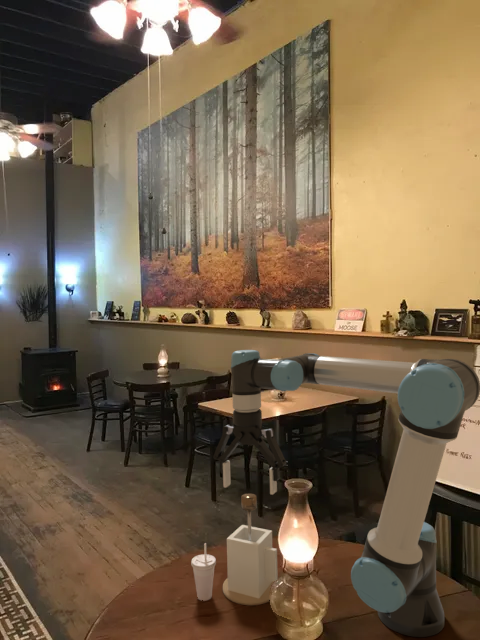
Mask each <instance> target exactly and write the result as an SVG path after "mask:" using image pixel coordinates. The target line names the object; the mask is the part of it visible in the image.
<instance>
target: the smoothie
mask: <svg viewBox="0 0 480 640" xmlns="http://www.w3.org/2000/svg"><path fill="white" fill-rule="evenodd" d="M203 546H204V547H203V548H204V550H203V553H204V554H198V555H195V556H194V557H193V558H192V559H191V560H190V561H191V567H192V569H193V570H192V571H193V578H194V583H195V590H196V596H197V597H198V598H197V600H199V601H202V600H203V601H202V602H205V601H209V600H211V599H212V596H213V587H214V586H213V585H214V575H215V566H216V565H217V561H216V557H215V556H214V555H211V554H207V553H208V552H207V543H206V542H205V543H204V544H203Z"/></svg>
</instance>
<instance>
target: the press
mask: <svg viewBox="0 0 480 640" xmlns="http://www.w3.org/2000/svg"><path fill="white" fill-rule="evenodd" d="M251 538H252V542H251V541H248V525H245V524H241V525H240V526H239V527H237V529H236V530H234V531H233V533H231V534H230V535H229V536H228V537H227V538H226V558H227V559H226V560H227V562H226V563H227V567H226V569H227V578H226V579H225V580H224V581H223V584H222V593H223V595H224V597H225V598H227V600H228V601H231V602H233V603H235V604H238V605H242V606H243V605H244V606H258V605H262V604H266V603H269V602H270V601H269V591H270V588H271V585H272V584H273V582H274V581H276V580H277V581H278V578H279V577H278V548H274V547H273V530H270V529H265V528H260V527H256V526H251Z"/></svg>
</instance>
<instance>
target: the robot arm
mask: <svg viewBox="0 0 480 640" xmlns="http://www.w3.org/2000/svg"><path fill="white" fill-rule="evenodd" d="M230 363H231V364H230V365H231V366H230V370H231V371H230V372H231V385H232V409H233V411H232V422H233V426H232V425H230V424H227V425H225V426H223V427H222V435H221V437H220V439H219V442H218V444H217V447H216V448H215V451H214V454H213V459H214V460H217V461H218V462H219V468H220V469H219V471H220V474H221V475H222V480H223V481H222V482H223V486H222V487H223V488H226V489H227V488H228V487H229V486H230V485H231V484H232V483H231V481H232V480H231V461H230V460H228V459H229V457H230V456H231V455H232V454H233V452H234V451H235V450H236V448H237V447H238V446H239V444H241V446H246V445H248V446H250V447H251V446H254V447H255V448H256V449H257V450H258V451H259V452H260V454H261V455H263V457H264V459H265V460H266V461H267V463H268V464H269V465H270V468H269V470H268V471H269V494H270V495H272V496H273V495H274V494H275V493H277V492H278V483H277V482H278V481H280V478H281V474H280V471H281V469H280V468H283V467H284V466H286V465H287V461H286V458H285V457H284V454H283V452H282V450H281V448H280V445H279V443H278V441H277V439H276V437H275V431H274V428H272V427H271V428H268V429H263V427H262V423H263V419H262V418H263V415H262V412H263V411H262V410H261V407H262V393H261V392H262V389H265V390H275V391H281V392H286V391H287V392H288V391H290V392H295V391H297V390H298V389H299V387H301V386H302V385H303V384H312V385H313V384H314V385H322V386H323V385H324V386H332V387H339V388H348V389H359V390H364V391H374V392H375V391H376V392H381V393H382V392H383V393H391V394H397V404H398V406H399V408H400V409H399V410H400V411H399V414H398V419H397V420H398V422H399V424H400V426H401V427H402V433H401V436H400V437H401V438H400V440H399V444H398V448H397V452H396V456H395V458H394V459H395V460H394V463H393V466H392V467H393V468H392V470H391V474H390V479H389V482H388V486H387V490H386V493H385V496H384V501H383V504H382V508H381V512H380V517H379V520H378V523H377V527H374V528H372V529H370V530H369V531H368V533H367V537H366V539H365V544H364V546H363V550H362V554H361V556H360V557H359V558H358V559H356V561H354V564H353V565H352V567H351V571H350V579H351V584H352V587H353V589H354V590H355V591H356V594H357V595H358V597H359V599H361V601H362V602H363V603H364V604H366V605H367V606H368V607H370V608H371V609H373V610H375V611H377V616H378V618H379V619H380V621H381V622H382V623H383V625H385V626H386V627H387V628H388V629H390V630H392V631H394V632H396V633H398V634H401V635H404V636H409V637H414V638H427V637H431V636H432V637H433V636H436V635H438V634H439V633H440V632H442V630H443V628H445V612H444V611H445V610H444V608H443V605H442V604H443V603H442V602H441V598H440V596H439V593H438V590H437V541H438V540H437V538H436V535H437V534H436V530H435V528H434V527H433V526H432V525H431V524H429V523H427V522H426V521H425V520H426V516H427V513H428V510H429V505H430V502H431V498H432V495H433V492H434V488H435V484H436V481H437V478H438V473H439V470H440V467H441V465H442V464H441V463H442V460H443V457H444V453H445V450H446V446H447V444H448V443H450V442H452V441H455V440H456V439H457V438H458V435H459V431H460V428H461V426H462V422H463V417H464V415H465V412H466V411H467V410H469V409H470V408H472V407H473V406H474V405H475V403H476V402H477V401H478V400H479V396H480V378H479V376H478V373H476V371H475V369H474V368H473V367H472V366H471V365H470V364H468V363H466V362H464V361H462V360H459V359H455V358H441V359H439V358H438V359H437V358H436V359H435V358H434V359H432V358H431V359H429V358H419V359H418V360H417V361H416V362H408V361H398V360H396V361H394V360H384V359H383V360H382V359H381V360H380V359H370V358H357V357H356V358H355V357H343V356H341V357H340V356H331V355H330V356H327V355H319V354H318V353H309V352H307V353H306V352H305V353H303V354H300V355H295V356H290V357H283V358H277V359H275V358H274V359H270V358H269V359H268V358H261V354H260V352H259V350H255V349H240V350H235V351H233V352H232V353H231V362H230ZM232 433H233V434H234V439H233V440H232V441H231V443H230V445H228V447H227V449H226V450H225V448H226V445H227V444H228V441H229V439H230V438H231V437H230V435H232ZM262 436H264V438H265V440H266V441H265V440H264V438H262ZM266 442H267V444H268V445H267V444H266ZM268 446H269V447H268Z"/></svg>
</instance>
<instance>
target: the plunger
mask: <svg viewBox="0 0 480 640" xmlns="http://www.w3.org/2000/svg"><path fill="white" fill-rule="evenodd" d="M240 500H241V505H240V506H241V509H242V510H243V511H247V526H248V541H251V542H252V538H251V527H252V511H255V510H257V508H258V505H257V504H258V503H257V502H258V501H257V500H258V499H257V494H254V493H244V494H242V495H241V499H240Z"/></svg>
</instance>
